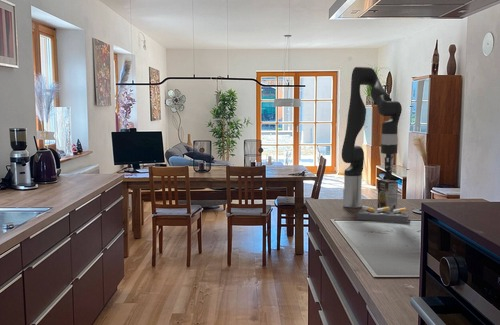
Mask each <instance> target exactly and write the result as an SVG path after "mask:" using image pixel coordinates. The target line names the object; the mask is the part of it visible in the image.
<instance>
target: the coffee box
mask: <svg viewBox="0 0 500 325" xmlns="http://www.w3.org/2000/svg"><path fill="white" fill-rule="evenodd" d="M398 190H399V181H395V180H393V179H392V180H391V179H378V180H377V209H378V208H384V207H389V208H390V209H389V210H385V212H393V210H394V209H398V197H399V196H398V193H399V192H398Z"/></svg>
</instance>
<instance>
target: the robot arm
mask: <svg viewBox="0 0 500 325" xmlns="http://www.w3.org/2000/svg"><path fill="white" fill-rule="evenodd" d="M350 80H351V82H350V97H349V98H350V99H349V107H348V113H347V120H346V121H347V122H346V128H345V133H344V134H345V135H344V140H343V145H342V149H341V160H342V161H343V162H344V164H349V166H348V167H347V168H345V169H344V174H343V175H344V180H343V181H344V182H343V191H342V193H343V194H342V195H343V196H342V207H345V208H353V209H354V208H356V209H357V208H362V180H363V179H362V174H363V170H364V164H365V162H364V161H365V152H364V149H363V147H362V146H360V145H356V140H357V137H358V135H359V133H360V132H361V130H362V129H363V127H364V126H365V123H366V116H367V108H366V105H365V103H364V101H363V98H362V96H361V86H369V87H370V88H371V89H370V97H371V98H372V99H373V101H374V102H375V104H376V106H377V110H378V114H380V115H381V116H383V117H390V118H389V119H388V120H386V121H383V122H382V125H381V139H380V153H381V154H385V156H384V158H383V159H384V171H385V180H387V179H388V180H391V178H392V175H393V167H394V166H393V165H394V160H395V158H394V154H395V155H397V154H398V141H399V140H398V124H399V121H400V117H401V115H402V111H403V110H402V109H403V108H402V104H401V103H400V102H399V101H397V100H396V101H395V100H391V97H390V95H389V93H388V92H387V91H386V90H385V89H384V87H383V85H382V84H381V82H380V79H379V77H378V75H377V72H376V71H375V70H374V68H372V67H370V66H355V67H354V68H353V69H352V73H351V79H350Z"/></svg>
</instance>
